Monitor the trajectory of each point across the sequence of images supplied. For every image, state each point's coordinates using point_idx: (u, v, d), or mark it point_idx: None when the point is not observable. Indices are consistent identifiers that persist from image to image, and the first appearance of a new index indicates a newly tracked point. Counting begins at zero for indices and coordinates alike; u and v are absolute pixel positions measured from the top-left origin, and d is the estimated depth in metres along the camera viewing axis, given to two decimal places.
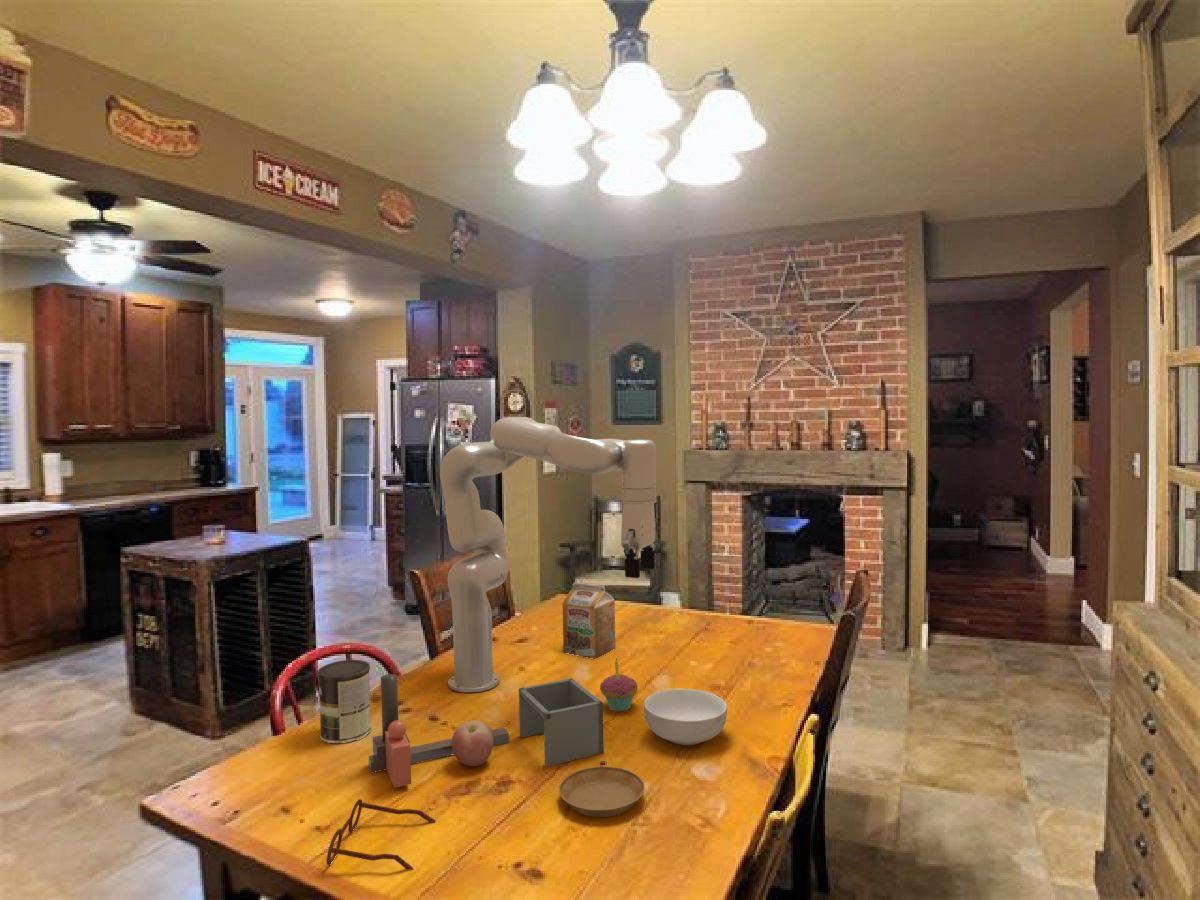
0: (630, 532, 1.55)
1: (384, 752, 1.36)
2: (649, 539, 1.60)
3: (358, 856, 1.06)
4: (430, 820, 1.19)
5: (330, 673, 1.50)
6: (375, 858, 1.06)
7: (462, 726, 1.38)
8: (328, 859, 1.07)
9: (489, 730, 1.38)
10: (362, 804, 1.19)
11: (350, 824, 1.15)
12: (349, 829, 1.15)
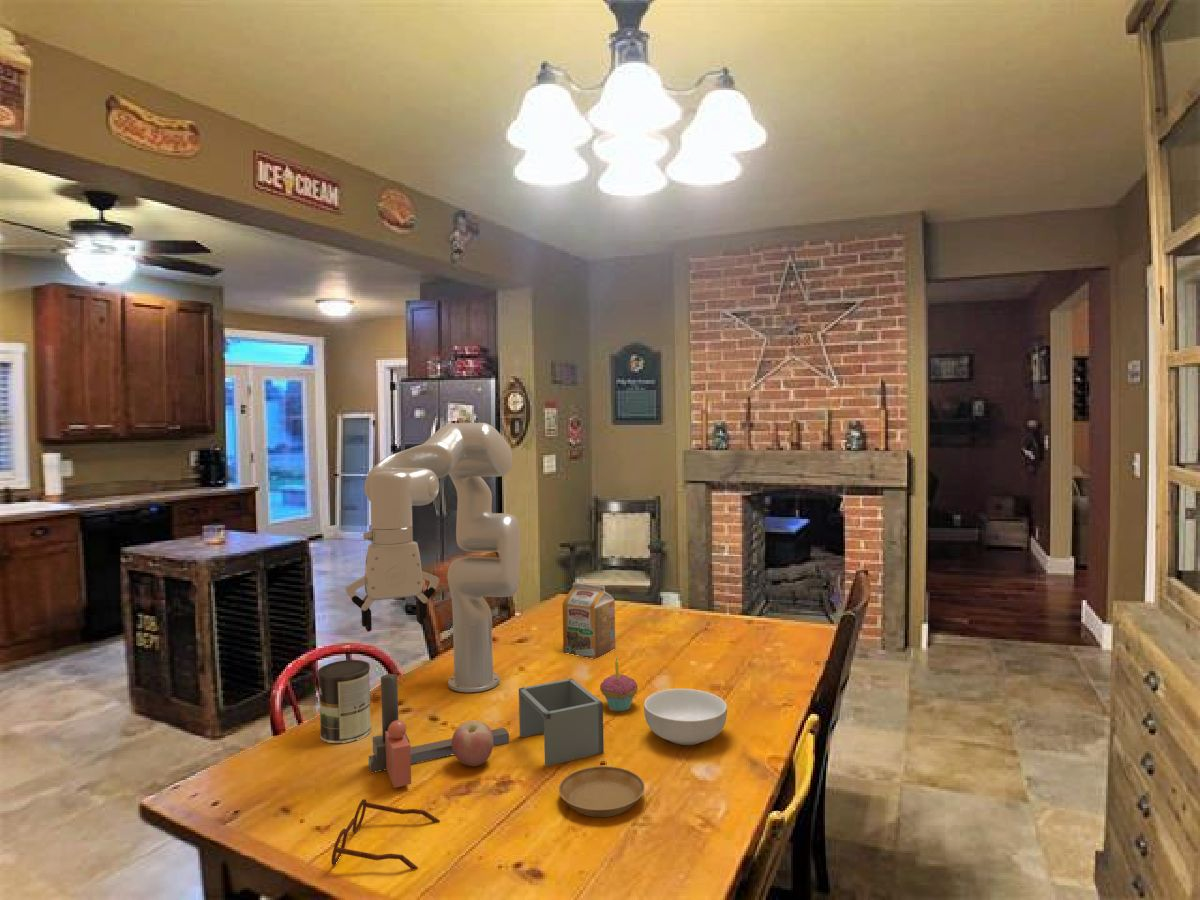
0: (423, 571, 1.40)
1: (384, 752, 1.36)
2: None
3: (363, 856, 1.07)
4: (434, 820, 1.19)
5: (330, 673, 1.50)
6: (380, 858, 1.06)
7: (462, 726, 1.38)
8: (333, 859, 1.07)
9: (489, 730, 1.38)
10: (366, 804, 1.19)
11: (354, 824, 1.15)
12: (353, 829, 1.15)
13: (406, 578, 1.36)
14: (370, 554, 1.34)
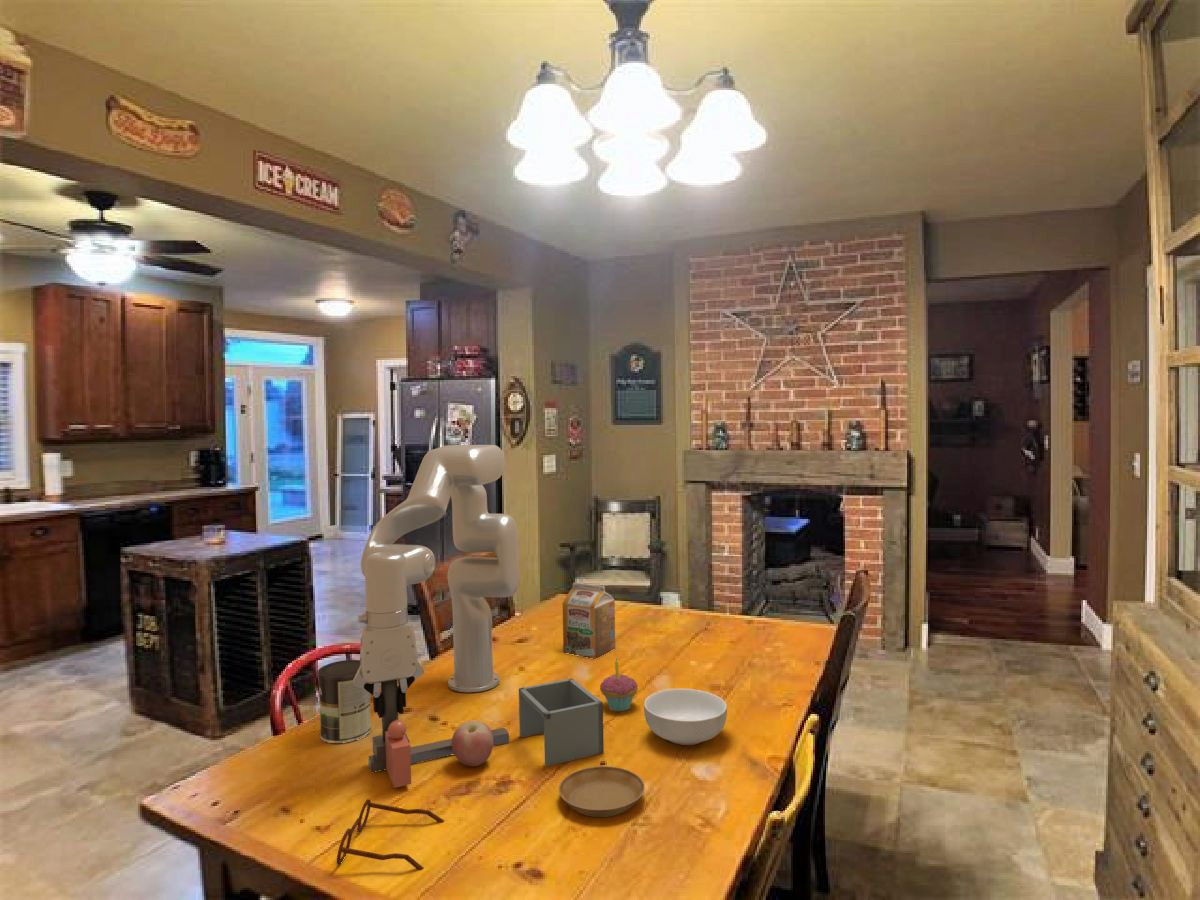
0: None
1: (384, 752, 1.36)
2: None
3: (368, 856, 1.07)
4: (439, 820, 1.19)
5: (330, 673, 1.50)
6: (385, 858, 1.06)
7: (462, 726, 1.38)
8: (338, 859, 1.07)
9: (489, 730, 1.38)
10: (371, 804, 1.19)
11: (359, 824, 1.15)
12: (358, 829, 1.15)
13: (401, 660, 1.36)
14: (365, 638, 1.34)
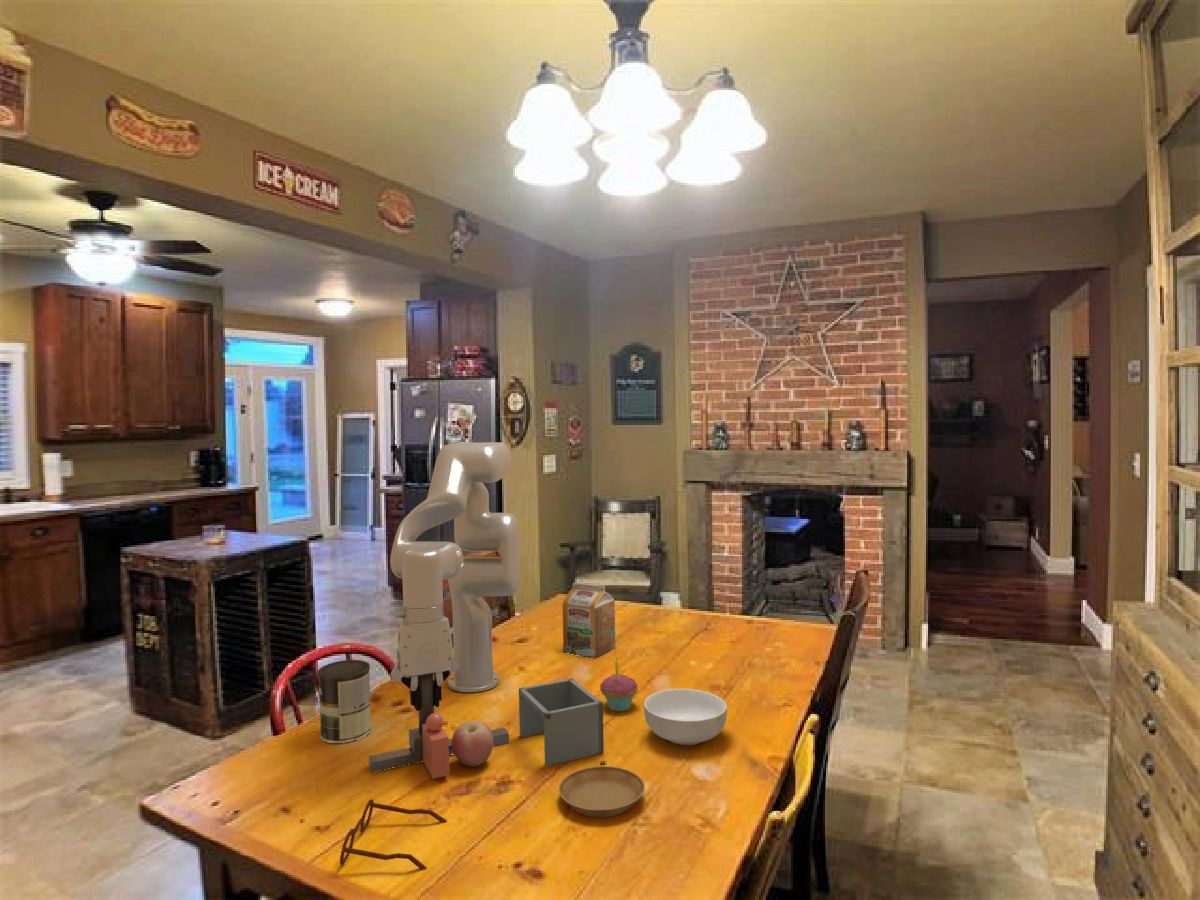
0: None
1: (421, 744, 1.39)
2: None
3: (371, 856, 1.07)
4: (441, 820, 1.19)
5: (330, 673, 1.50)
6: (388, 857, 1.06)
7: (462, 726, 1.38)
8: (341, 859, 1.07)
9: (489, 730, 1.38)
10: (373, 804, 1.19)
11: (362, 824, 1.15)
12: (361, 829, 1.15)
13: (437, 654, 1.39)
14: (403, 632, 1.37)
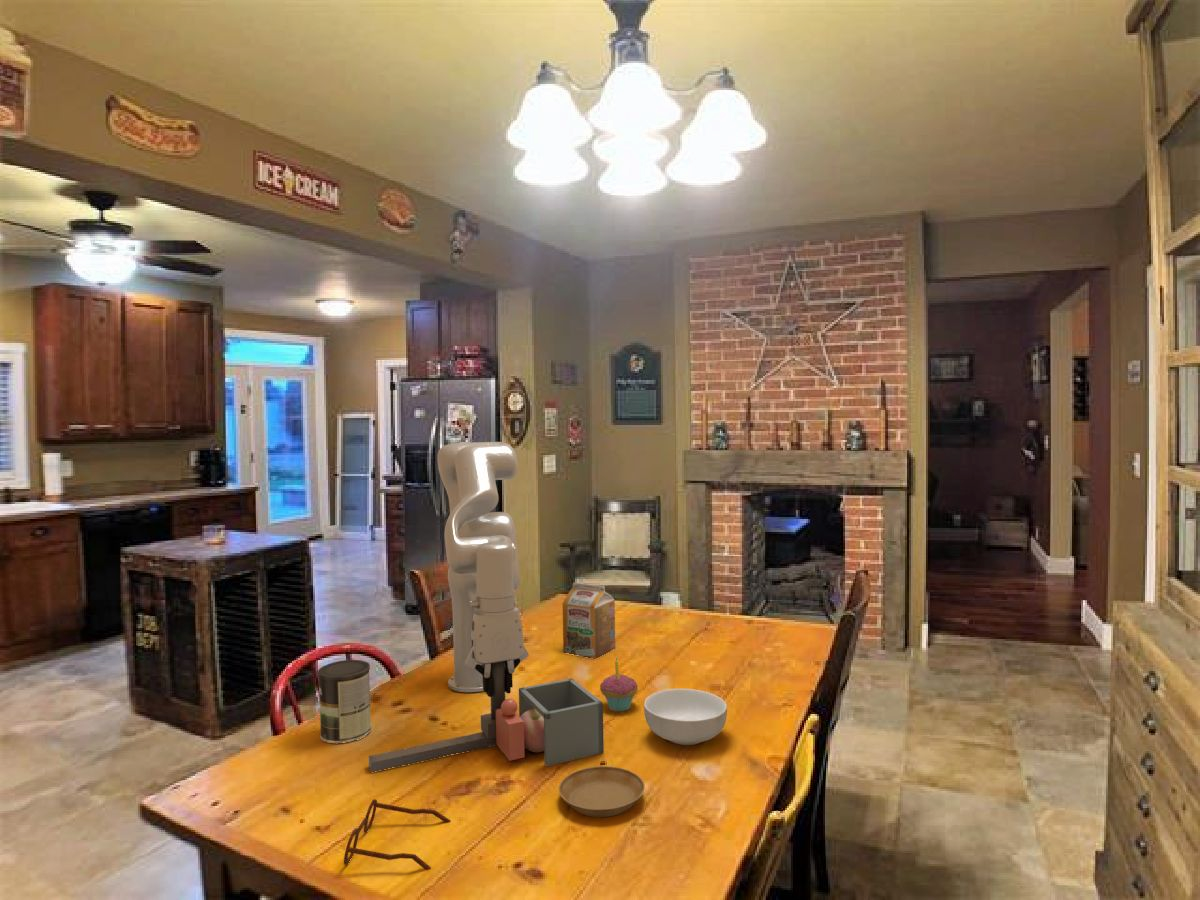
0: None
1: (494, 729, 1.45)
2: None
3: (375, 856, 1.06)
4: (445, 820, 1.19)
5: (330, 673, 1.50)
6: (392, 857, 1.06)
7: (527, 713, 1.43)
8: (345, 859, 1.06)
9: None
10: (377, 804, 1.19)
11: (365, 824, 1.15)
12: (364, 829, 1.15)
13: (510, 643, 1.46)
14: (478, 622, 1.43)
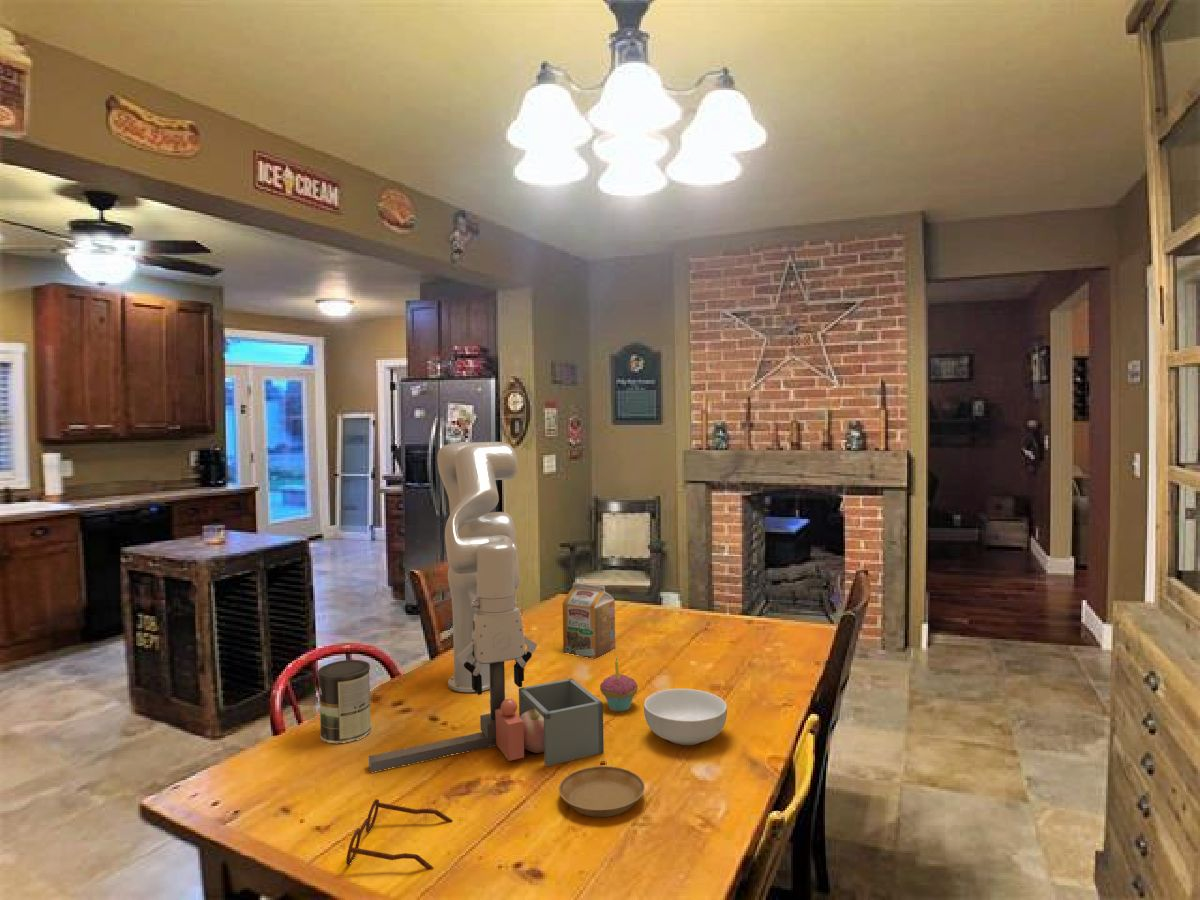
0: None
1: (494, 729, 1.45)
2: None
3: (378, 856, 1.06)
4: (447, 820, 1.19)
5: (330, 673, 1.50)
6: (395, 858, 1.06)
7: (526, 714, 1.43)
8: (348, 859, 1.06)
9: None
10: (379, 804, 1.19)
11: (368, 824, 1.15)
12: (367, 829, 1.15)
13: (510, 643, 1.46)
14: (478, 622, 1.43)
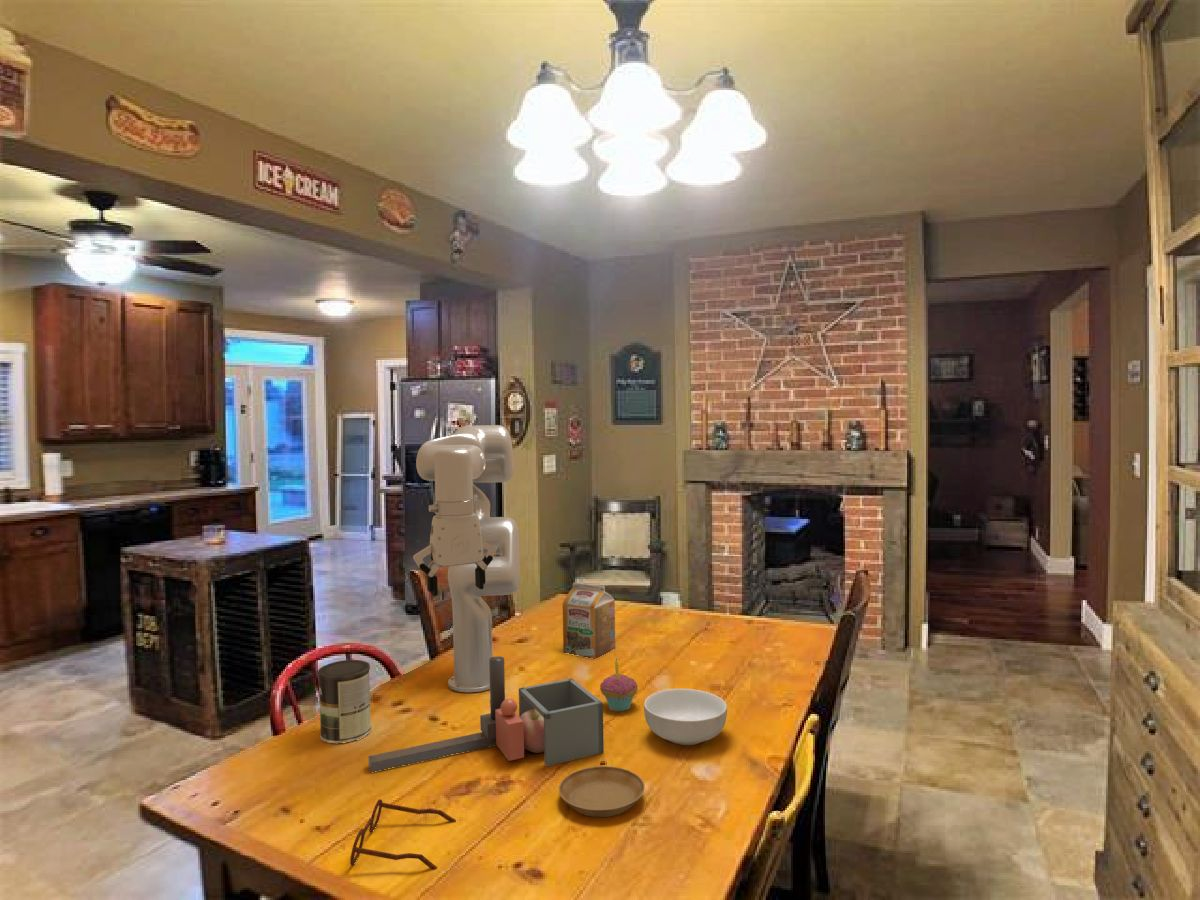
0: (482, 540, 1.52)
1: (494, 729, 1.45)
2: None
3: (382, 856, 1.06)
4: (450, 820, 1.19)
5: (330, 673, 1.50)
6: (399, 857, 1.06)
7: (526, 714, 1.43)
8: (352, 859, 1.06)
9: None
10: (382, 804, 1.19)
11: (371, 824, 1.15)
12: (370, 829, 1.15)
13: (469, 547, 1.47)
14: (436, 525, 1.45)
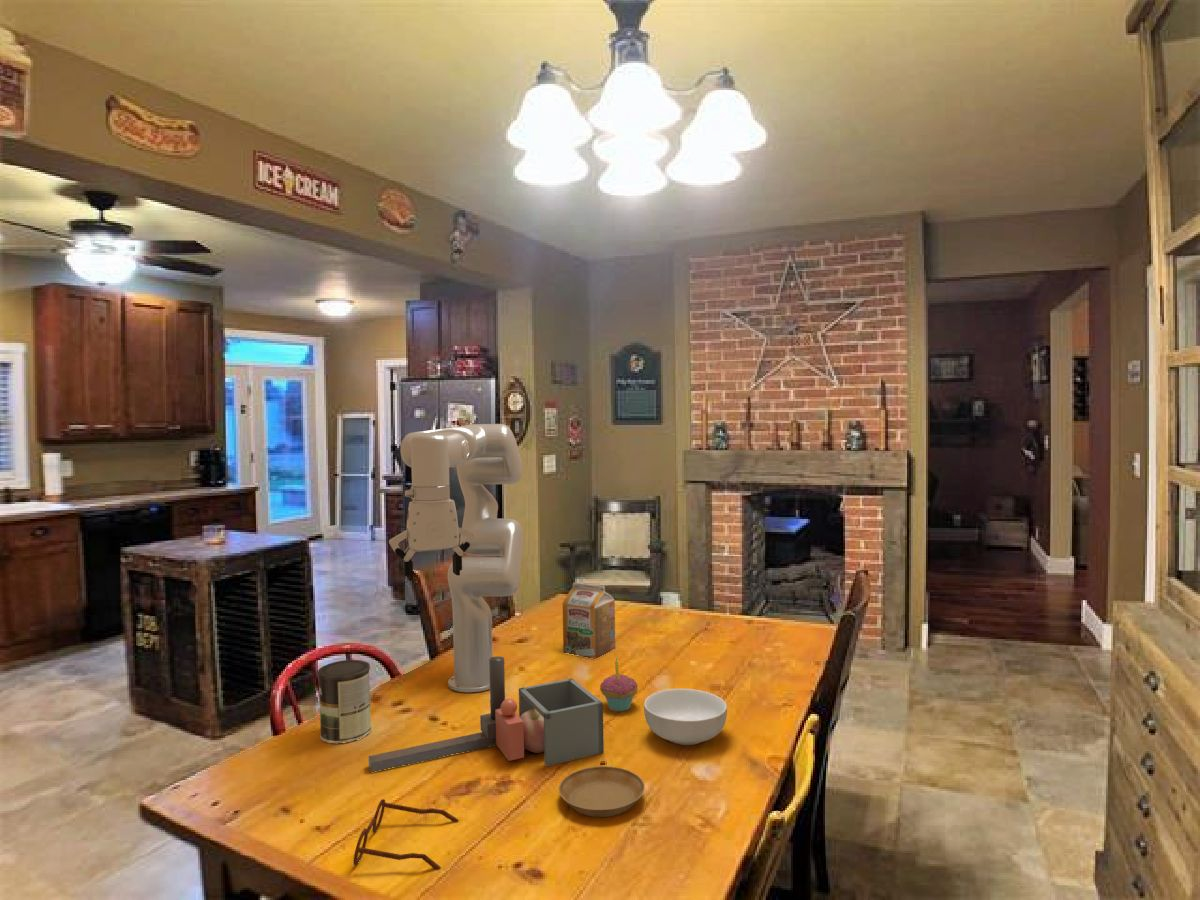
0: (459, 527, 1.52)
1: (494, 729, 1.45)
2: None
3: (385, 856, 1.06)
4: (453, 819, 1.19)
5: (330, 673, 1.50)
6: (402, 857, 1.06)
7: (526, 714, 1.43)
8: (355, 859, 1.06)
9: None
10: (385, 804, 1.19)
11: (374, 824, 1.15)
12: (373, 829, 1.15)
13: (444, 532, 1.48)
14: (412, 509, 1.46)
